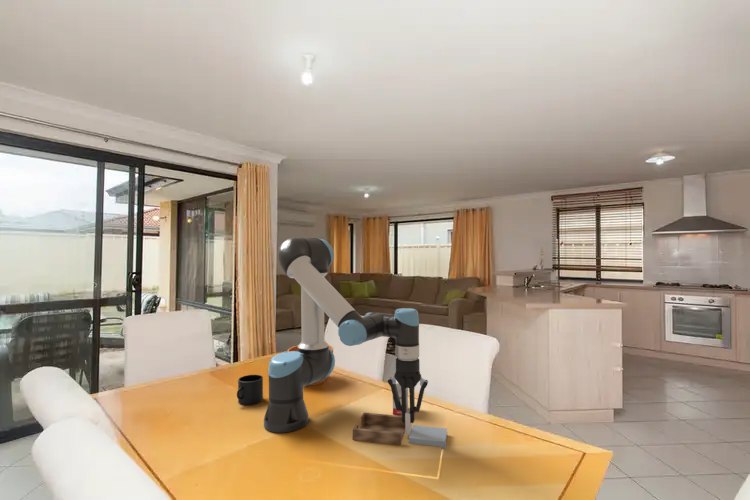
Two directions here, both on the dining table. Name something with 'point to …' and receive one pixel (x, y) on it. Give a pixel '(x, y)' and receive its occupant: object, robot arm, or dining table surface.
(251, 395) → the mug
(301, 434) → the dining table surface
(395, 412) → the ink box
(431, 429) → the tile
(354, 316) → the robot arm
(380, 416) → the box
